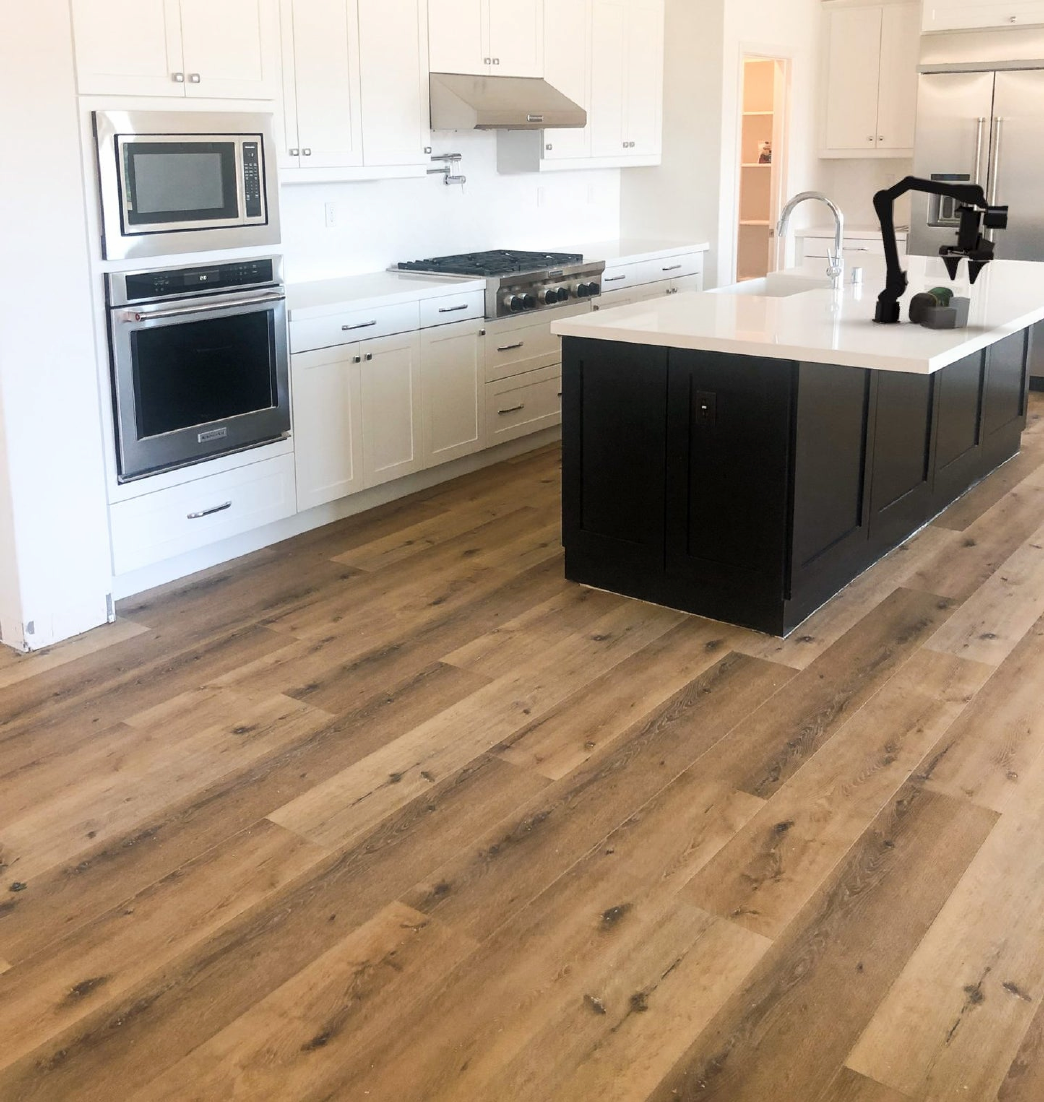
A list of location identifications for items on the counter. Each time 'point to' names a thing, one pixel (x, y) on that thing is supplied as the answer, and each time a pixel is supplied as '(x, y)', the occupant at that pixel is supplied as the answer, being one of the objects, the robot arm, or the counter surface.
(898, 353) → the counter surface
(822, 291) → the counter surface
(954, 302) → the end cover
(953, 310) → the housing
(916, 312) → the coffee jar
